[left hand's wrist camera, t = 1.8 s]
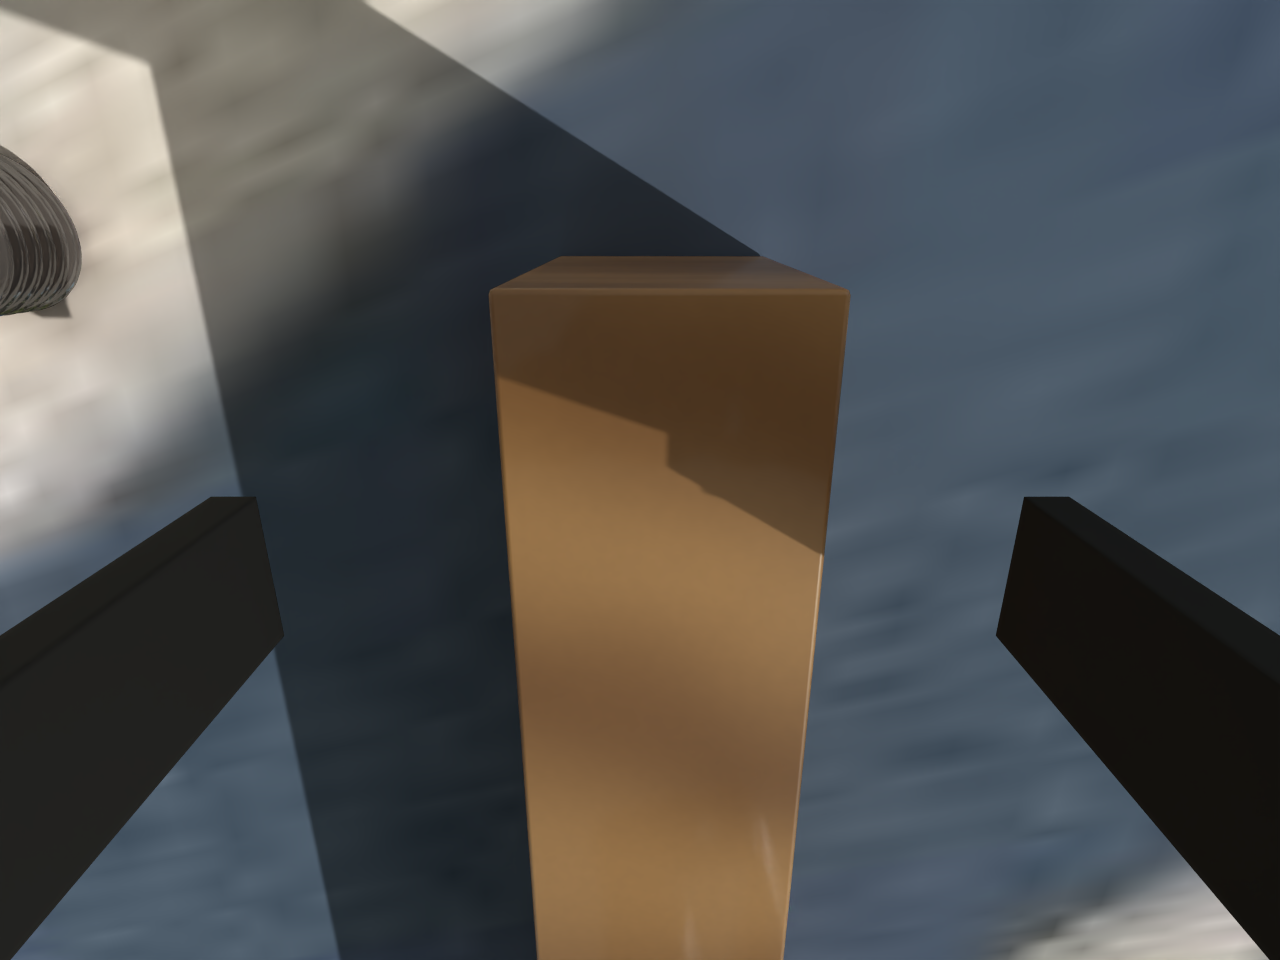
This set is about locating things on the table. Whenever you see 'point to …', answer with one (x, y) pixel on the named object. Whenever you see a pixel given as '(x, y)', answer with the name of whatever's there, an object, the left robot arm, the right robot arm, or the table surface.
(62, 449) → the table surface
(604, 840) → the post
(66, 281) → the light bulb
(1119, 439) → the table surface
